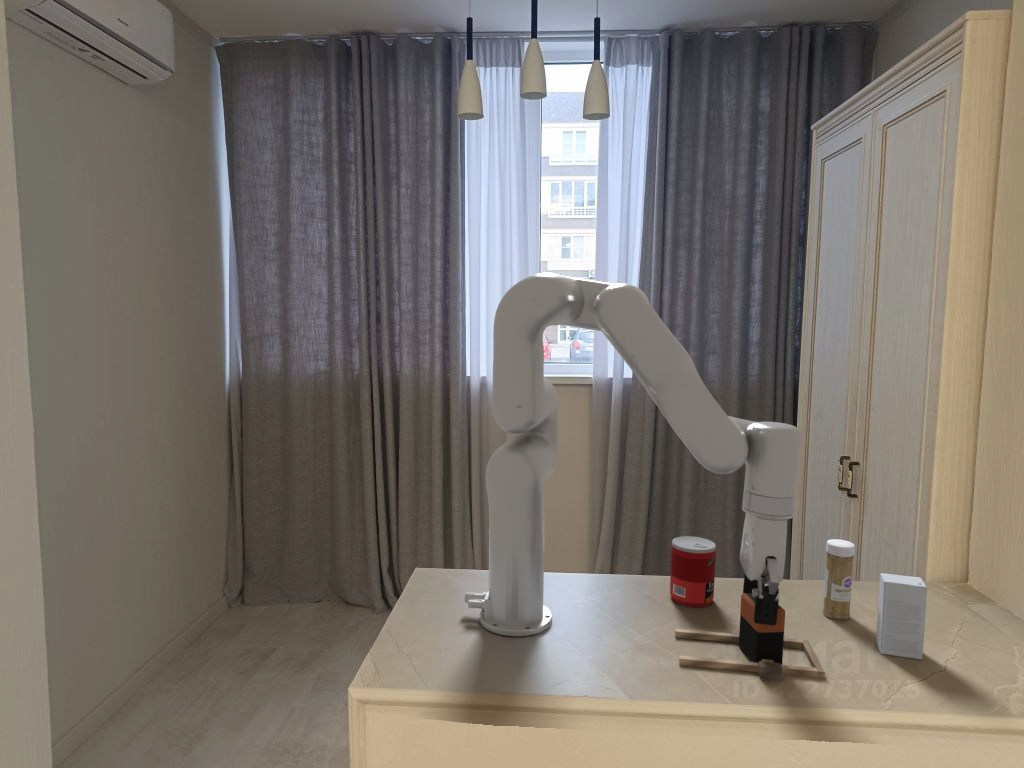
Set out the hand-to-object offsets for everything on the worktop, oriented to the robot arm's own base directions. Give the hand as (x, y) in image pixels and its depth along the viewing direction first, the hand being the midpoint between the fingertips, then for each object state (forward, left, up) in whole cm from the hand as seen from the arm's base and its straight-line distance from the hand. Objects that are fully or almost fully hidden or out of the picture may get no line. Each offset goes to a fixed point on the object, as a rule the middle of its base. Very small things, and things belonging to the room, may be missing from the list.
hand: (758, 609), depth 107 cm
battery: (+1, 0, -8) cm, 8 cm away
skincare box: (+23, +6, -8) cm, 25 cm away
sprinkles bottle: (+17, +18, -8) cm, 26 cm away
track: (-2, -1, -8) cm, 8 cm away
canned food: (-8, +20, -8) cm, 23 cm away
